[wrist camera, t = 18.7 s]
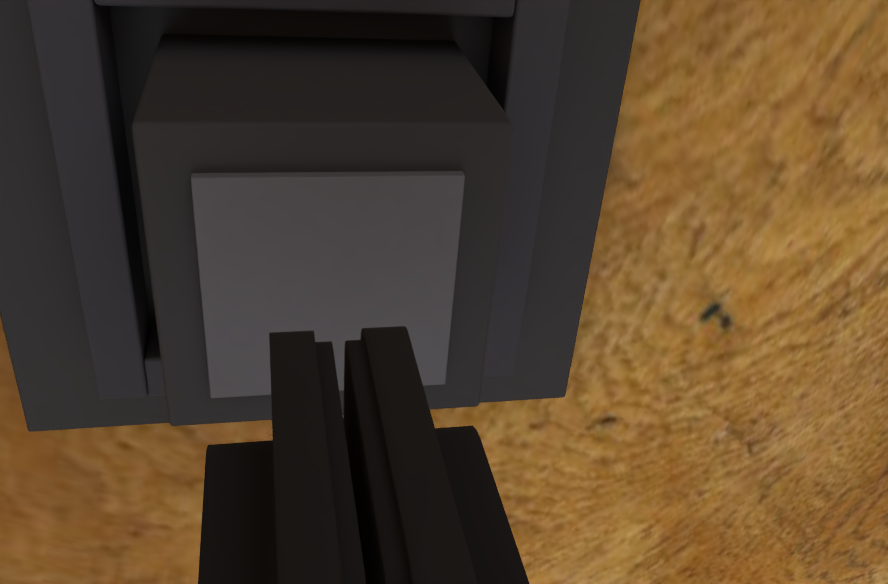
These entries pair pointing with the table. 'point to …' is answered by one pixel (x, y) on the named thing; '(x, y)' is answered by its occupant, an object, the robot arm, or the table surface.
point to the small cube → (316, 209)
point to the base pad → (119, 203)
